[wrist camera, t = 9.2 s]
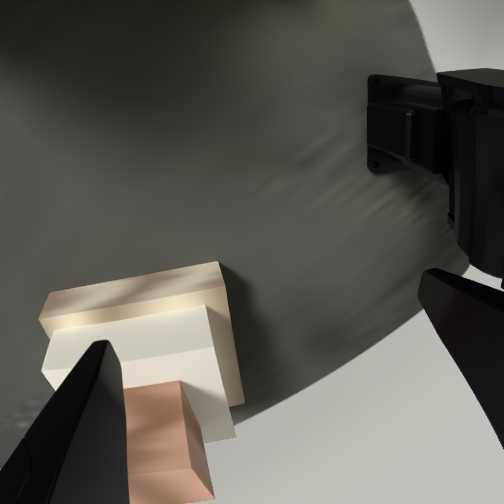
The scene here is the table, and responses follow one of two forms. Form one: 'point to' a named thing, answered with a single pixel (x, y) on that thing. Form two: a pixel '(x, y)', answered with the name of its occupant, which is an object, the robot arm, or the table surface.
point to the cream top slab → (155, 360)
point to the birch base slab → (154, 309)
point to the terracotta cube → (164, 447)
